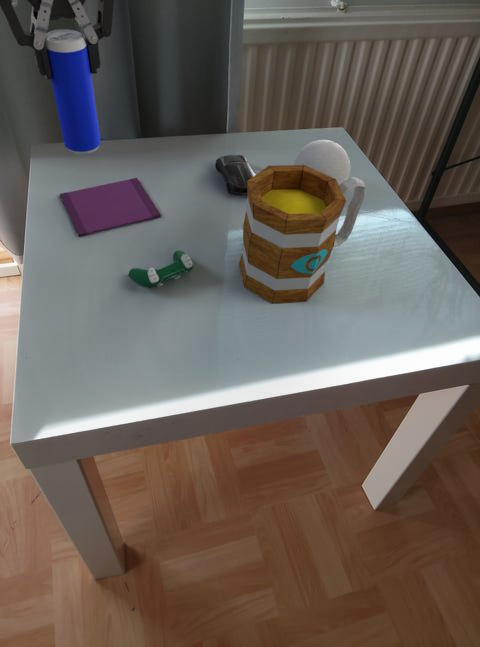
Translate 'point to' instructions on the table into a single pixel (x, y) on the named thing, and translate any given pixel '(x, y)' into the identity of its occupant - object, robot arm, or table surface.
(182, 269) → the gaming controller
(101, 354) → the table surface
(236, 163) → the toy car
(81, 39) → the beverage can
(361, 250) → the table surface
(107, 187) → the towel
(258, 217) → the mug
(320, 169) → the ball
